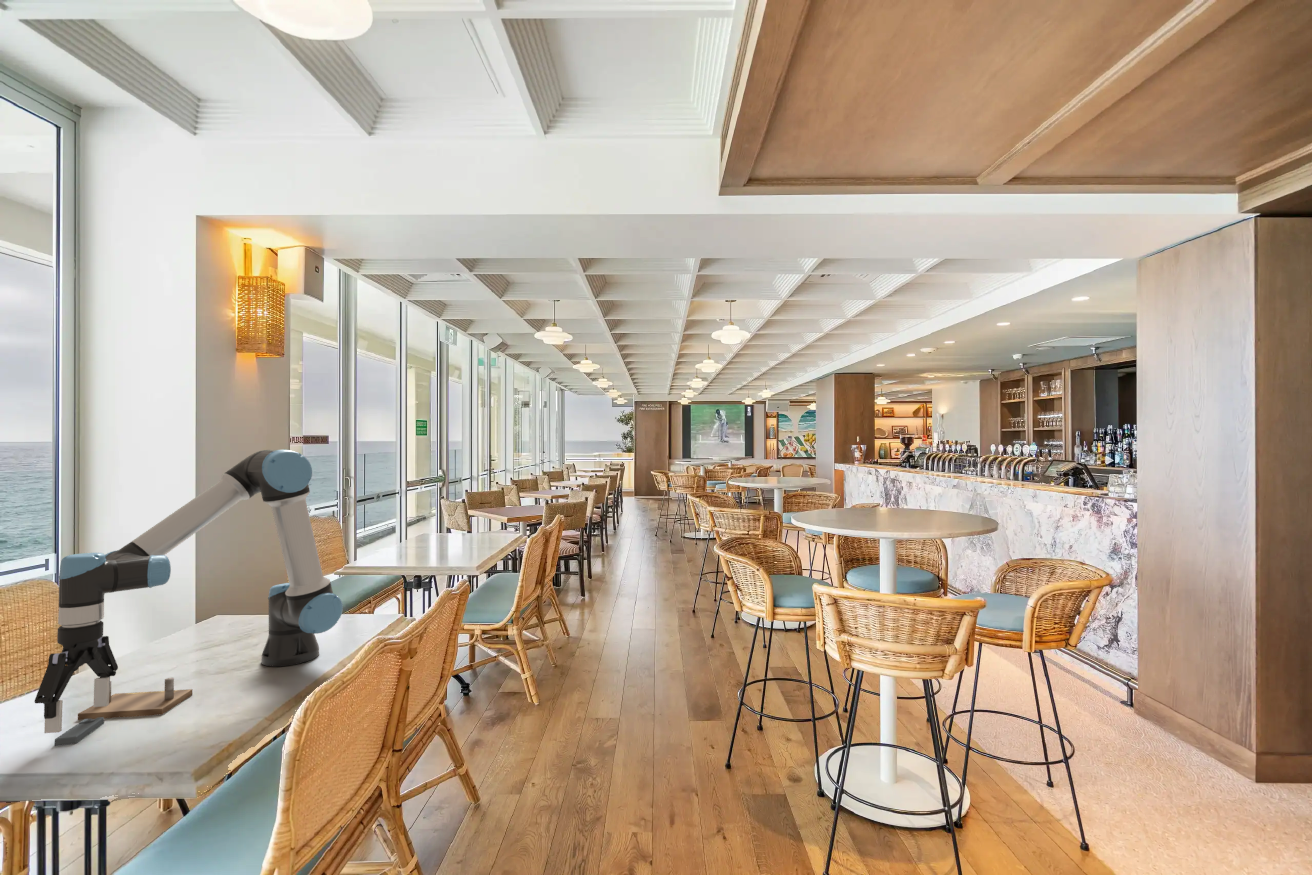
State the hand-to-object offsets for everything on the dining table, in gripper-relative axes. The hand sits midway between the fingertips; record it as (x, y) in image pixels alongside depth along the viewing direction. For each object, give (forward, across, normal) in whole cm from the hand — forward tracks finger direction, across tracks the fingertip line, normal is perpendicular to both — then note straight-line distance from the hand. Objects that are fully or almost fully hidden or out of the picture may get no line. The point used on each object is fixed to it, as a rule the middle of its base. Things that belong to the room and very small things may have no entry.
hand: (78, 718), depth 136 cm
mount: (+3, -14, +3) cm, 15 cm away
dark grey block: (+4, 0, 0) cm, 4 cm away
